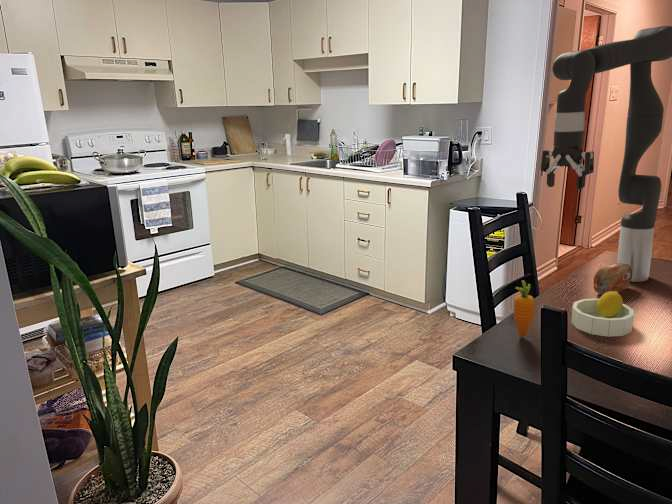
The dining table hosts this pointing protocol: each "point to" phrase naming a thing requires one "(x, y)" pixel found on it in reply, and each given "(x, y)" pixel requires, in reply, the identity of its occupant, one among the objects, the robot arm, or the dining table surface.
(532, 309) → the carrot
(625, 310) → the bowl
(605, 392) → the dining table surface
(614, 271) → the tin
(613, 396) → the dining table surface
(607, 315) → the lemon
